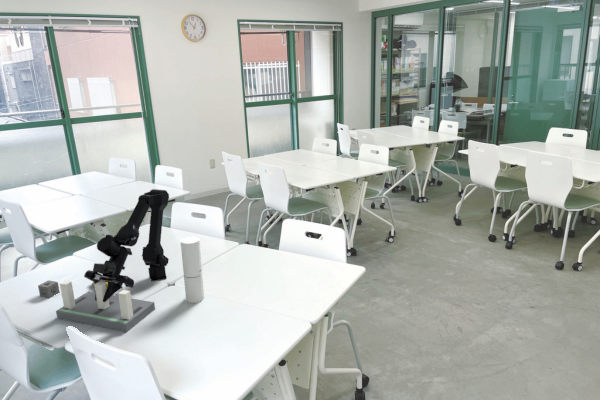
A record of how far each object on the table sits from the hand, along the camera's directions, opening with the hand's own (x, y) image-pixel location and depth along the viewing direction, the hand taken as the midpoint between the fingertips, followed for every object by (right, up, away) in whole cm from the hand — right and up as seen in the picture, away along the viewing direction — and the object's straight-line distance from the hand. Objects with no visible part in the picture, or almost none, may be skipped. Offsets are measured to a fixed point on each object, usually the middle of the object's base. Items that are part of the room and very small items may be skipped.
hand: (99, 301), depth 160 cm
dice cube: (-29, -2, +19) cm, 35 cm away
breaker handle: (0, -3, +2) cm, 4 cm away
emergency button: (-9, 0, +26) cm, 27 cm away
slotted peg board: (+1, -6, +4) cm, 7 cm away
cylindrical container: (+32, -3, +14) cm, 35 cm away
